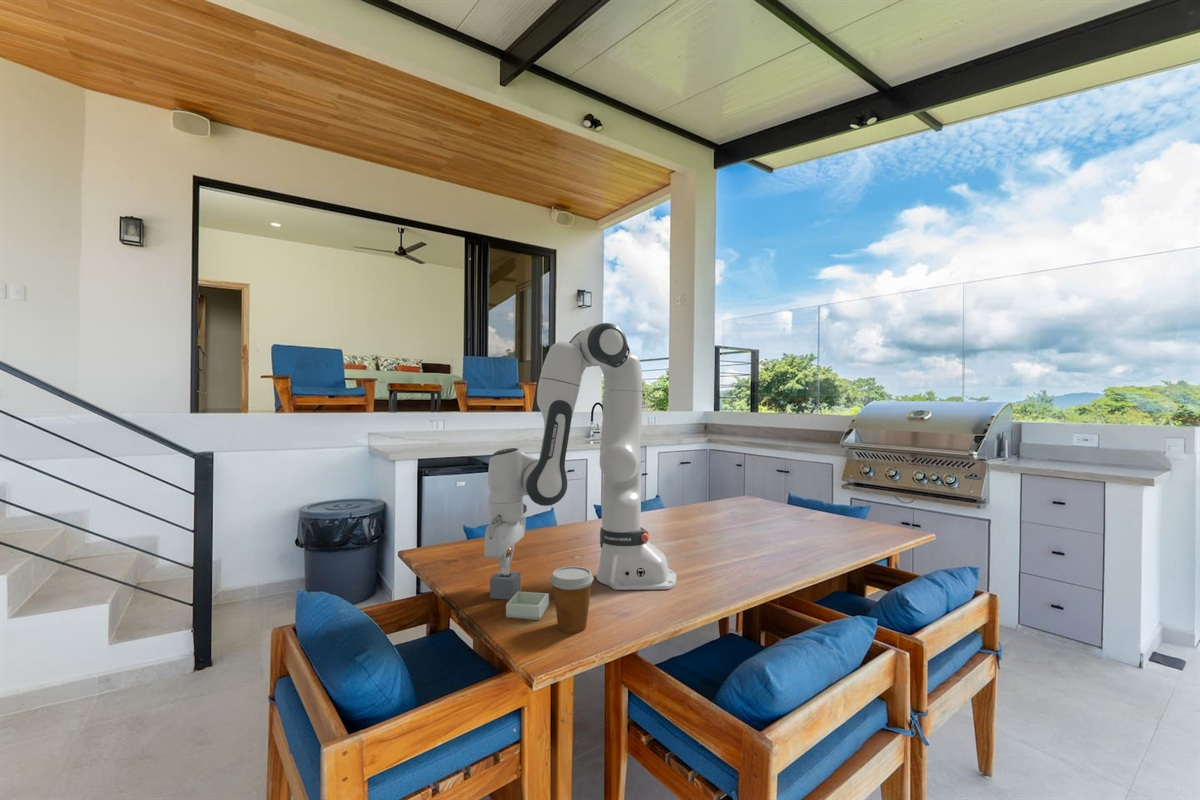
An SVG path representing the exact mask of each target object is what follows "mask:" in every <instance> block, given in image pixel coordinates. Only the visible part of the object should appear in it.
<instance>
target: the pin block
mask: <svg viewBox="0 0 1200 800" xmlns="http://www.w3.org/2000/svg"><path fill="white" fill-rule="evenodd" d="M521 574H522V573H521V571H515V570H514V571H511V570H510V577H502V570H498V571H496V573H494V575H492V576H491V577H490V579H489V598H490V599H496V600H497V599H498V600H508V601H509V600H510V599H511V598H512V597H513V596H514V595H515V594H516V593H517V591H519V592H522V590H521V585H522V584H521V582H522V581H521V580H522V579H521Z"/></svg>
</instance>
